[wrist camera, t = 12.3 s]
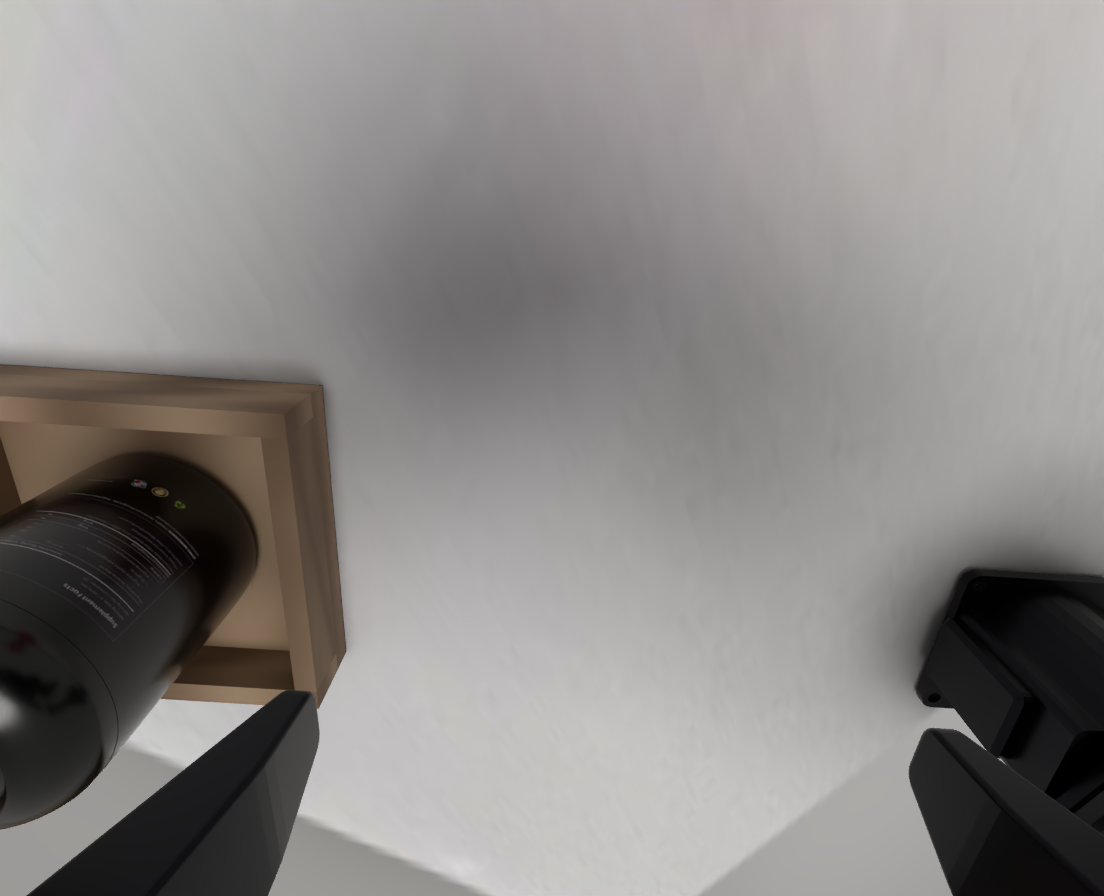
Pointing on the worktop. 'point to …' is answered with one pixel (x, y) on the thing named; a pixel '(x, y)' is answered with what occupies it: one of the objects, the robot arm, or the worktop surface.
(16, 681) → the supplement bottle
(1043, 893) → the robot arm
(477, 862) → the worktop surface
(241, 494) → the tray
